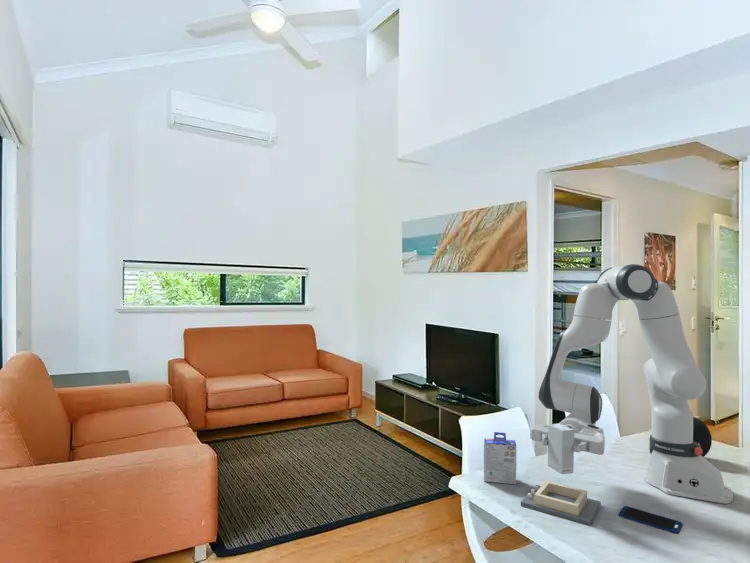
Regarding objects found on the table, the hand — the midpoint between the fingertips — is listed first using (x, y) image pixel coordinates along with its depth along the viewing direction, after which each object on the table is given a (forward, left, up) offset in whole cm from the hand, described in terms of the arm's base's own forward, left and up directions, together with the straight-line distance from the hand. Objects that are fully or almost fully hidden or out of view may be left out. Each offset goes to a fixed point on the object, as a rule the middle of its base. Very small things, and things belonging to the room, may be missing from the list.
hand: (560, 445), depth 131 cm
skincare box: (0, -1, -7) cm, 7 cm away
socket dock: (0, -1, -17) cm, 17 cm away
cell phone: (-21, -7, -18) cm, 28 cm away
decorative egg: (-28, -67, -17) cm, 75 cm away
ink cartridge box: (+20, -7, -17) cm, 27 cm away
